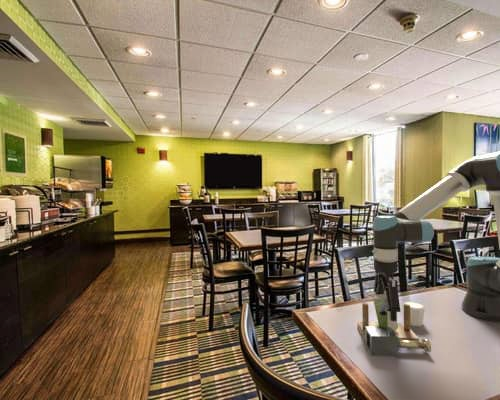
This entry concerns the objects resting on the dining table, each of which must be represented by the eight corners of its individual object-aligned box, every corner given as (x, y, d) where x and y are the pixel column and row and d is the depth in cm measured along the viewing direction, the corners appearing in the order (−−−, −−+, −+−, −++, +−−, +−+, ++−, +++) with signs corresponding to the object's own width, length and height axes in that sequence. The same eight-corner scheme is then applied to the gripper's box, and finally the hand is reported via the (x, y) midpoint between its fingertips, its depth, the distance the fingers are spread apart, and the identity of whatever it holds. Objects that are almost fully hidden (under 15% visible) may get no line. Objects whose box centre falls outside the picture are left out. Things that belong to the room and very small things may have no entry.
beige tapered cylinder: (423, 320, 103) (423, 302, 103) (426, 328, 97) (426, 309, 97) (403, 317, 106) (402, 300, 106) (405, 325, 100) (404, 306, 100)
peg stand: (405, 328, 98) (404, 299, 97) (418, 344, 88) (418, 311, 87) (357, 326, 100) (357, 298, 99) (365, 341, 90) (365, 310, 89)
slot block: (390, 345, 87) (390, 327, 87) (398, 356, 81) (398, 337, 81) (365, 344, 88) (365, 326, 88) (371, 355, 82) (371, 336, 82)
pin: (424, 347, 85) (424, 336, 85) (431, 354, 81) (431, 343, 81) (390, 346, 86) (390, 335, 86) (395, 352, 83) (395, 341, 82)
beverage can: (400, 334, 90) (399, 299, 90) (377, 333, 91) (376, 298, 91) (394, 325, 96) (392, 292, 96) (372, 324, 97) (371, 292, 97)
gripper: (364, 252, 105) (365, 306, 105) (386, 268, 82) (387, 338, 83) (384, 252, 104) (384, 307, 104) (412, 269, 81) (413, 339, 82)
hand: (386, 321), depth 93 cm, fingers open, 10 cm apart
